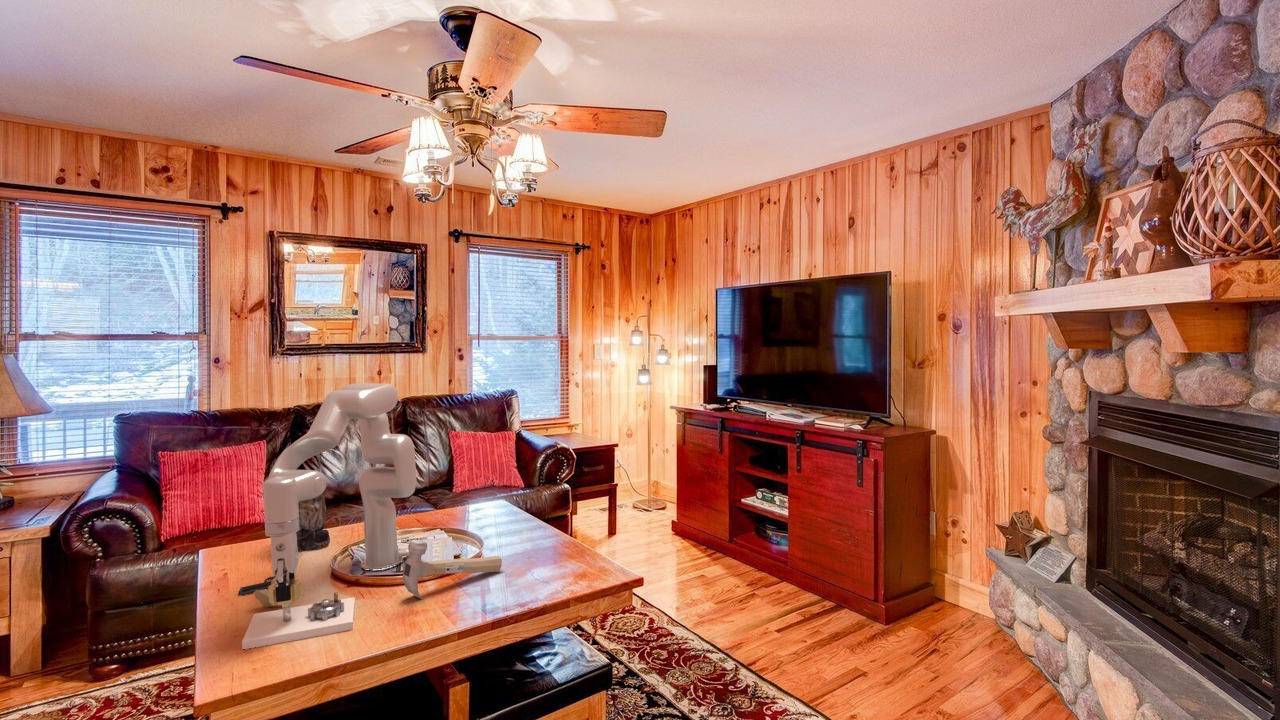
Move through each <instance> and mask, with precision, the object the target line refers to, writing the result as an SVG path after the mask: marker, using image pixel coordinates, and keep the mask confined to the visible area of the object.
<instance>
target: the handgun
mask: <svg viewBox="0 0 1280 720" xmlns="http://www.w3.org/2000/svg"><path fill="white" fill-rule="evenodd" d="M275 577H276V576H275V575H273V576H269V577H267V578H265V579H264V580H263V582H259V583H256V584H251V585H246V586H241V587H240V588H239V590H238V592H237V595H238V596H240V595H242V596H246V595H245V594H248V595H251V594H250V593H252V594H254V593H253V592H255V591H256V590H265V589H268V587H269V586H270V585H271V582H272V580H273V579H274V578H275ZM269 579H271V580H269ZM267 580H268V581H267Z"/></svg>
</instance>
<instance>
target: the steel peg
mask: <svg viewBox="0 0 1280 720" xmlns="http://www.w3.org/2000/svg"><path fill="white" fill-rule="evenodd" d="M281 607H282V611H283V622H289V621H291V608H292V607H291V603H289V604H286V605H282V606H281Z"/></svg>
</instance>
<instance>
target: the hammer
mask: <svg viewBox="0 0 1280 720" xmlns="http://www.w3.org/2000/svg"><path fill="white" fill-rule="evenodd" d="M407 547H408V551H409V553H410V554H409V556H408V558H406V560H405V563H404V567H403V572H402V574H403V575H402V580H403V583H404V586H405V588H406V590H407V591H408V592H409V593H410V594H412V595H414V596H415V597H417V598H419V599H420V600H423V598H422V596H421V595H420V593H419V585H418V584H419V579H420V578H426V577H427V576H432V575H441V574H443V575H444V574H445V575H446V574H447V575H448V574H479V573H498V572H500V570H501V568H502V567H503V559H502V558H501V557H500V556H499V555H492V556H491V555H490V556H486V557H476V558H475V557H474V558H458V559H457V558H453V559H442V560H424V559H423V558H422V556H423V555H425V554H426V552H427V550H428V543H427V542H426V540H425V541H424V540H421V539H413V540H410V541H409V543H408V546H407Z"/></svg>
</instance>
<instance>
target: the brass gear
mask: <svg viewBox="0 0 1280 720" xmlns="http://www.w3.org/2000/svg"><path fill="white" fill-rule="evenodd" d="M289 584H290V586H291V600H289V601H283V602H276V589H275V586H276V582H274V583H273V584H272V585H271V586H269V587H268V591H269V603H270V602H271V605H273V606H272V607H275V606H274V605H286V604H289V603H290V604H291V603H296V602H299V600H300V599H301V598H303V595H304V594H303V581H302V580H301V579H300V578H299V577H298V578H297V577H296V578H295V579H293V578H292V579H289Z"/></svg>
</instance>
